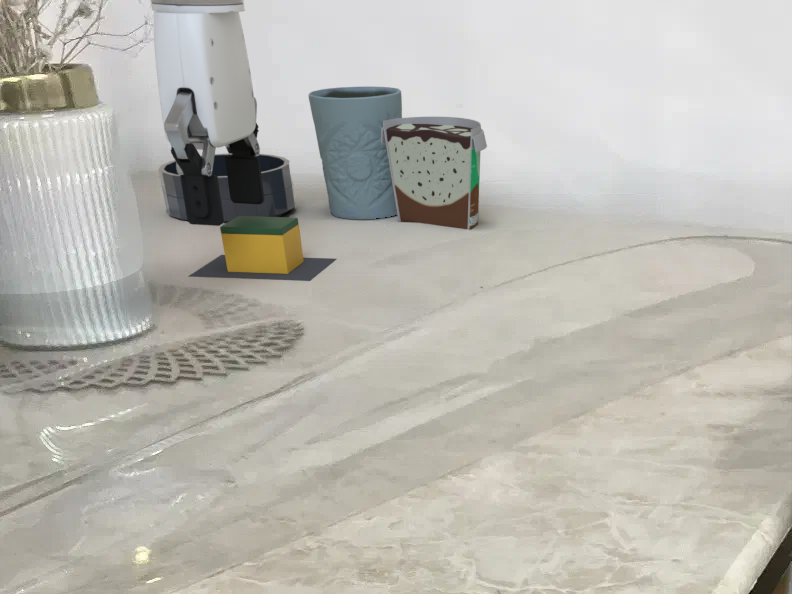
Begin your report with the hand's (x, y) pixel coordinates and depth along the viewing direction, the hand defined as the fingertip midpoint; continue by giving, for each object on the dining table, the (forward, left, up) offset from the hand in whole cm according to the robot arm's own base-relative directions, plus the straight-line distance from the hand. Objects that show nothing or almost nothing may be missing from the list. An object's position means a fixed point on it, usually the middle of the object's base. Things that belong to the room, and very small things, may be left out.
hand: (227, 213), depth 104 cm
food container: (+15, +24, -6) cm, 29 cm away
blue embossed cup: (+4, +29, -6) cm, 30 cm away
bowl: (-11, +26, -6) cm, 29 cm away
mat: (+2, +2, -6) cm, 6 cm away
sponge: (+2, +2, -5) cm, 6 cm away
